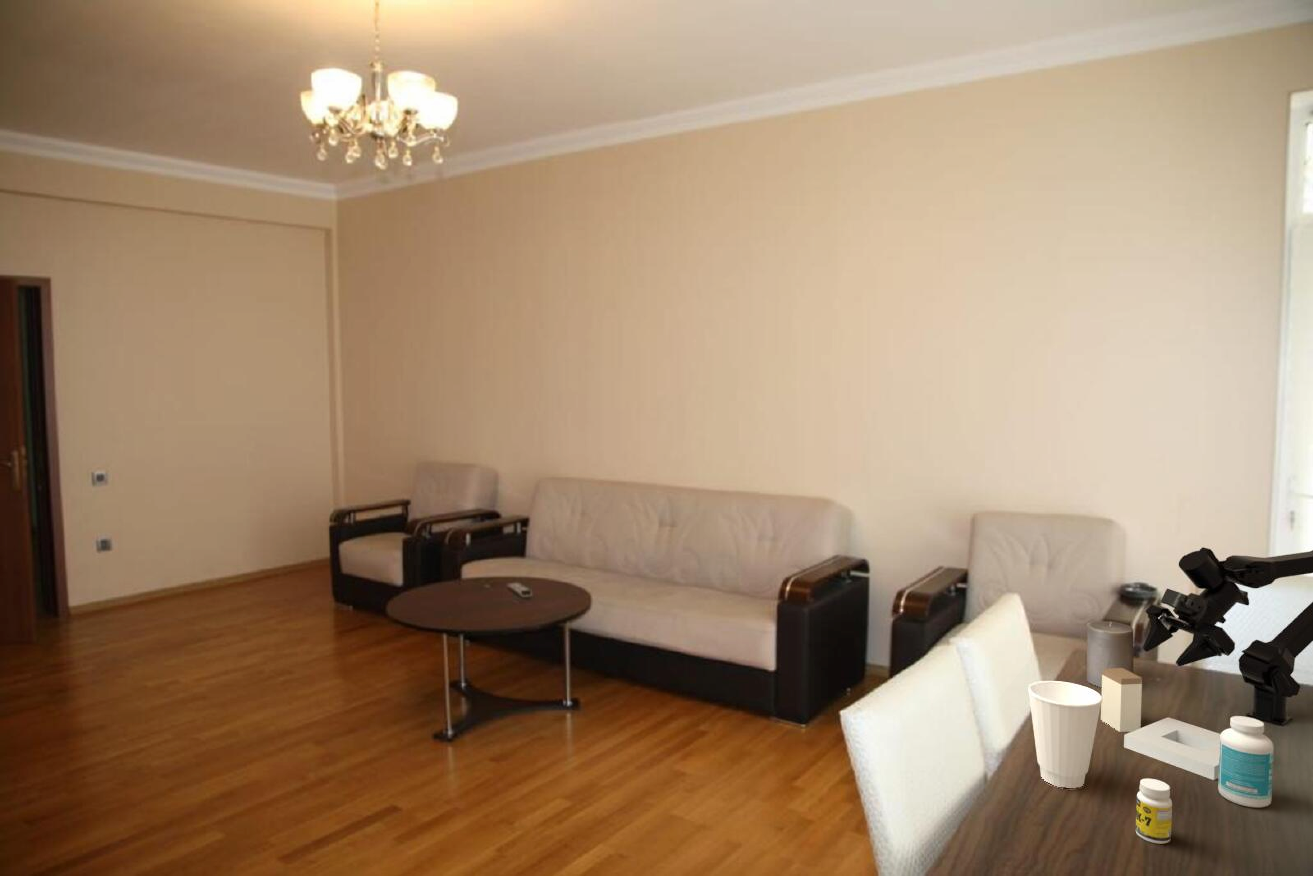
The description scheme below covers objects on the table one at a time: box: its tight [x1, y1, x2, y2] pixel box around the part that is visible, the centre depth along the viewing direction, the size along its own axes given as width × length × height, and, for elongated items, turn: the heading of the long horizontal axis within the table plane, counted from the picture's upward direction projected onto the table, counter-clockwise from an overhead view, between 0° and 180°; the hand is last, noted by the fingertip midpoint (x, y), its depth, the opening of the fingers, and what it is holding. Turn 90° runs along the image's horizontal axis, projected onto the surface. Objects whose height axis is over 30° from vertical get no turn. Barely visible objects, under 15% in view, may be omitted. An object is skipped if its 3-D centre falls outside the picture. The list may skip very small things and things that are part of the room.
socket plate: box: [1123, 716, 1221, 781], centre depth 159 cm, size 16×16×2 cm
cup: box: [1027, 680, 1102, 788], centre depth 148 cm, size 12×12×16 cm
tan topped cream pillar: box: [1100, 668, 1143, 733], centre depth 172 cm, size 4×6×11 cm
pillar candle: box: [1086, 620, 1135, 688], centre depth 196 cm, size 10×10×15 cm
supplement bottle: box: [1135, 778, 1173, 845], centre depth 130 cm, size 5×5×8 cm
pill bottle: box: [1217, 715, 1275, 808], centre depth 141 cm, size 8×7×14 cm
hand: (1160, 657), depth 172 cm, fingers open, 9 cm apart
